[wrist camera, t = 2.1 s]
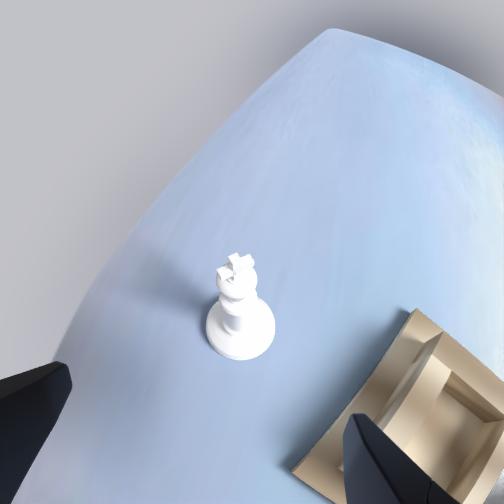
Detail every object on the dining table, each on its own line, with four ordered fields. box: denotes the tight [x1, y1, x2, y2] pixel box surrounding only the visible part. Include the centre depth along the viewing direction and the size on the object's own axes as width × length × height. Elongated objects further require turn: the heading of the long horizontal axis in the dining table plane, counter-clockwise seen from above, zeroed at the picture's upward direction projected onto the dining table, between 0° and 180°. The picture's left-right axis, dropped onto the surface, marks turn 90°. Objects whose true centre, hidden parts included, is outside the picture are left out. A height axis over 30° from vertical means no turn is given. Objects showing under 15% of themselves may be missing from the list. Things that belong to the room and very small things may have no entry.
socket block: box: [291, 308, 504, 504], centre depth 16 cm, size 15×15×4 cm
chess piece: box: [206, 253, 275, 360], centre depth 18 cm, size 5×5×10 cm
